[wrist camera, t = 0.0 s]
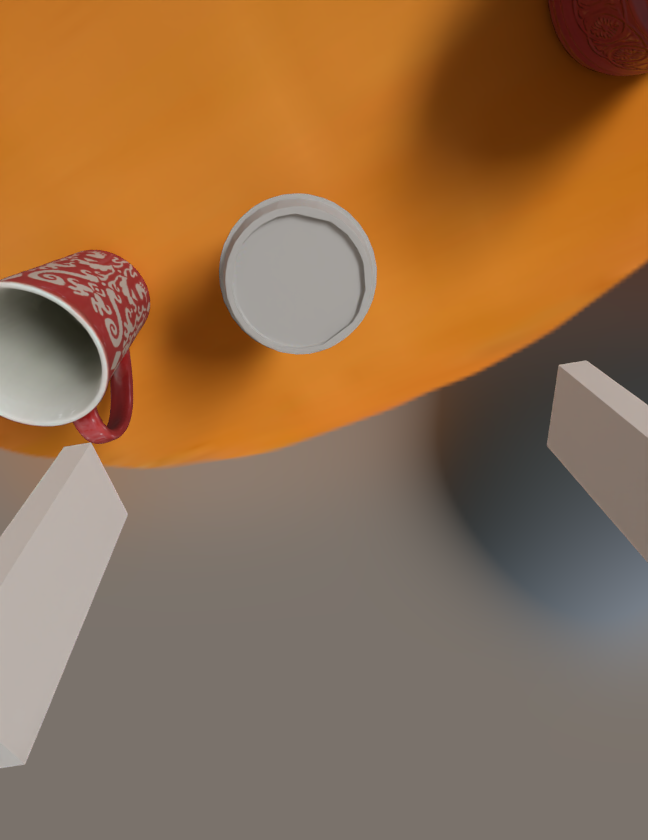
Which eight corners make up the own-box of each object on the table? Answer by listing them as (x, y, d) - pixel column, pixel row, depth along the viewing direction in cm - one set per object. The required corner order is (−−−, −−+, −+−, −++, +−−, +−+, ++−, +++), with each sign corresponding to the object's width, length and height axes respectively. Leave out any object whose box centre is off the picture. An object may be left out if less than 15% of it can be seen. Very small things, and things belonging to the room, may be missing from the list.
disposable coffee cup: (250, 311, 39) (238, 372, 29) (221, 189, 34) (196, 211, 24) (358, 294, 39) (385, 348, 29) (346, 169, 34) (374, 182, 24)
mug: (21, 250, 35) (-104, 304, 24) (133, 223, 35) (60, 264, 23) (97, 389, 42) (28, 484, 30) (192, 368, 41) (157, 455, 30)
